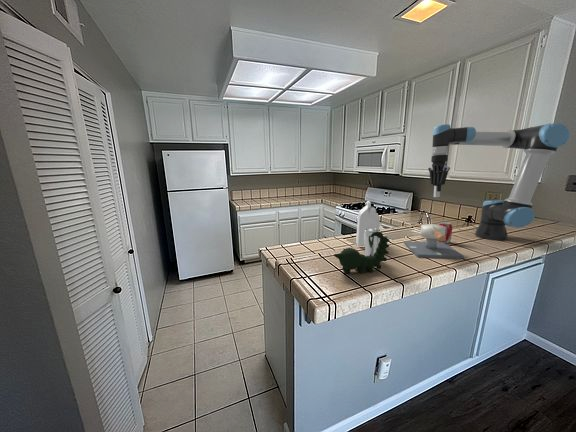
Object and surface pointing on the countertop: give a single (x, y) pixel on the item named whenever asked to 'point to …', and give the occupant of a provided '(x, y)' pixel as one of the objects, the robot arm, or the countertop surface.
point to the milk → (366, 222)
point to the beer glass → (370, 241)
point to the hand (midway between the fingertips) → (436, 197)
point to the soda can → (446, 231)
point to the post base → (432, 249)
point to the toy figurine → (356, 260)
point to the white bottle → (433, 231)
